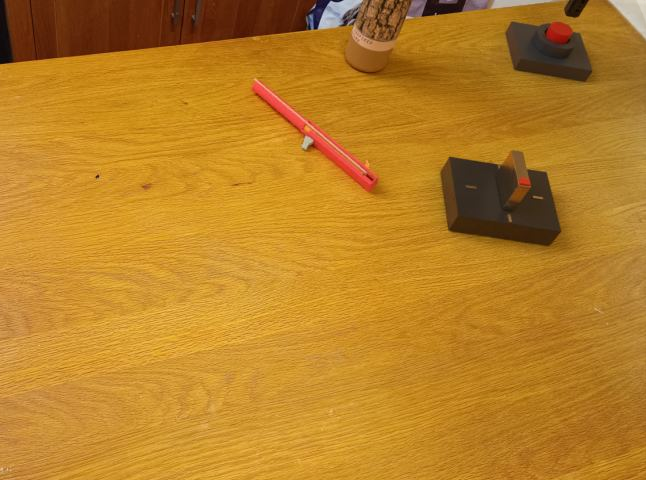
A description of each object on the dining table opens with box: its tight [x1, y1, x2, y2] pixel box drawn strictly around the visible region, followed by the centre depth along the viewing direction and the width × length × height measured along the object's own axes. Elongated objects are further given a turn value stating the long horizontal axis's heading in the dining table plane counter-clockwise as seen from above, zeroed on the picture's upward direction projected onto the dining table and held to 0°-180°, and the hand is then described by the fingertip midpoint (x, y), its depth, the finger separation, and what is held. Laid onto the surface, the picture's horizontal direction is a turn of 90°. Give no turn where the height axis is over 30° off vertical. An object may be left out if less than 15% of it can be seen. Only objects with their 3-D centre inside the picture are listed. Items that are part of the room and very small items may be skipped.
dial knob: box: [496, 149, 531, 211], centre depth 97 cm, size 6×2×5 cm, turn 175°
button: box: [546, 21, 574, 44], centre depth 119 cm, size 4×4×2 cm
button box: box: [505, 20, 594, 83], centre depth 121 cm, size 12×10×4 cm
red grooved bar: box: [251, 78, 379, 193], centre depth 104 cm, size 24×2×5 cm
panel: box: [440, 156, 562, 247], centre depth 100 cm, size 14×11×3 cm
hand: (570, 14), depth 116 cm, fingers closed
